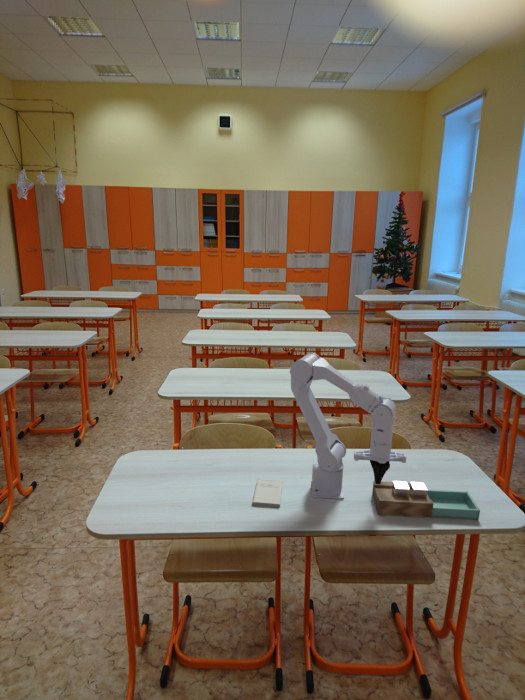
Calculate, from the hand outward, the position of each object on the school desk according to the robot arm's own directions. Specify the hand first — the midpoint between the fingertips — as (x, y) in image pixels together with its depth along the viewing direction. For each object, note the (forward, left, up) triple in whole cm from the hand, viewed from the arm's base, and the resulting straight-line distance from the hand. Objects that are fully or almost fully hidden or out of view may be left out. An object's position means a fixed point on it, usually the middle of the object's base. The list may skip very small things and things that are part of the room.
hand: (377, 482), depth 129 cm
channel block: (+7, 0, -7) cm, 11 cm away
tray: (+22, 0, -8) cm, 23 cm away
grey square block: (+7, 0, -4) cm, 8 cm away
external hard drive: (-32, +3, -8) cm, 33 cm away
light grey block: (+12, 0, -4) cm, 12 cm away
